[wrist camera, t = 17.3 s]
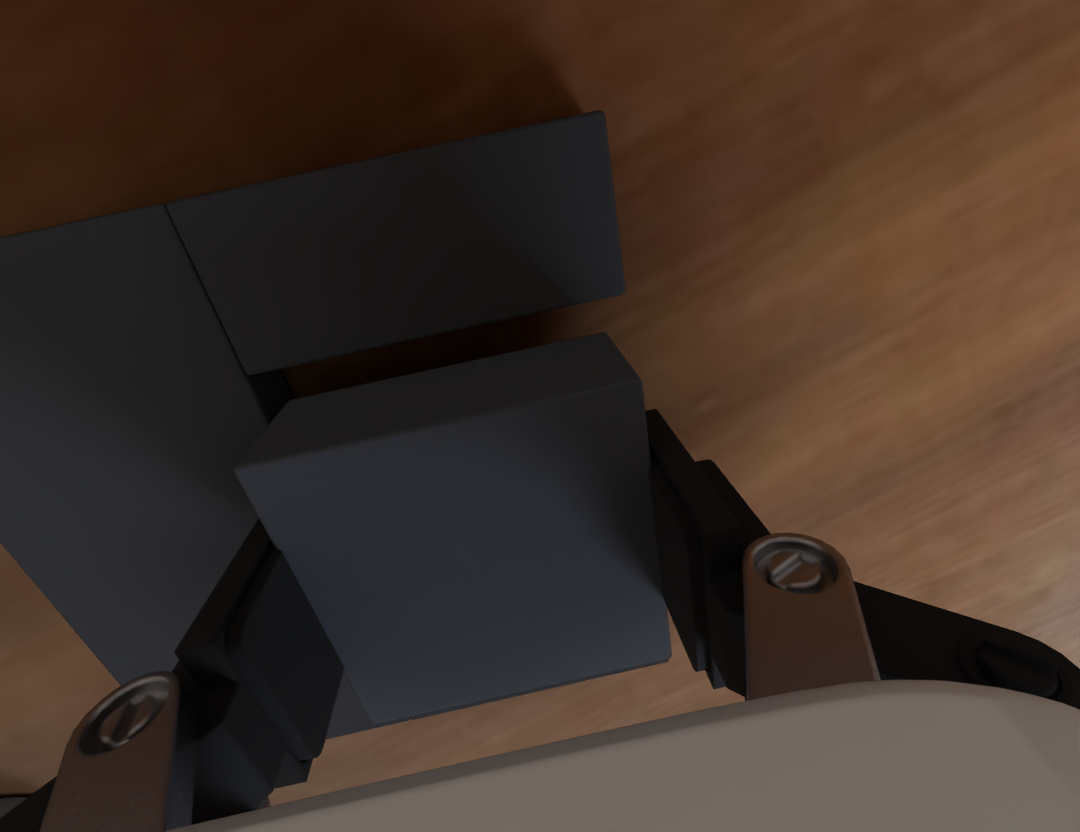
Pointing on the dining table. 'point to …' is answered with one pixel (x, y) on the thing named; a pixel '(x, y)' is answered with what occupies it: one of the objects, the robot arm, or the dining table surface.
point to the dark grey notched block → (253, 352)
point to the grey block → (471, 524)
